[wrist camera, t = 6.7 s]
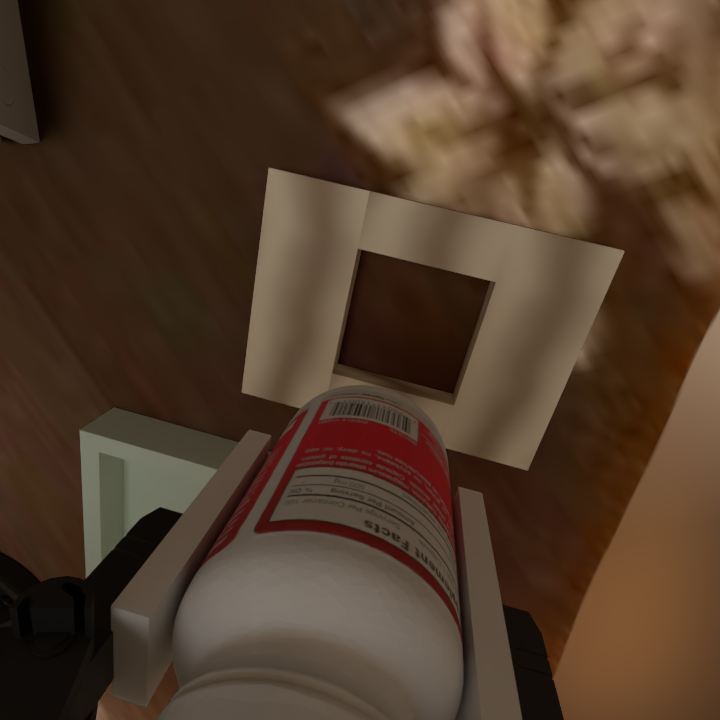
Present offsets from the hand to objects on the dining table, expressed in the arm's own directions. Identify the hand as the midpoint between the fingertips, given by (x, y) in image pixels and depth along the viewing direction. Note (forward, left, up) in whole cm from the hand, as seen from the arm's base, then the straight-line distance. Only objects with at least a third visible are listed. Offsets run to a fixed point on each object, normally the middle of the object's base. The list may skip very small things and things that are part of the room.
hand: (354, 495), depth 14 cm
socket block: (+1, +1, -19) cm, 19 cm away
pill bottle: (0, 0, -3) cm, 3 cm away
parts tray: (-13, -22, -19) cm, 32 cm away
